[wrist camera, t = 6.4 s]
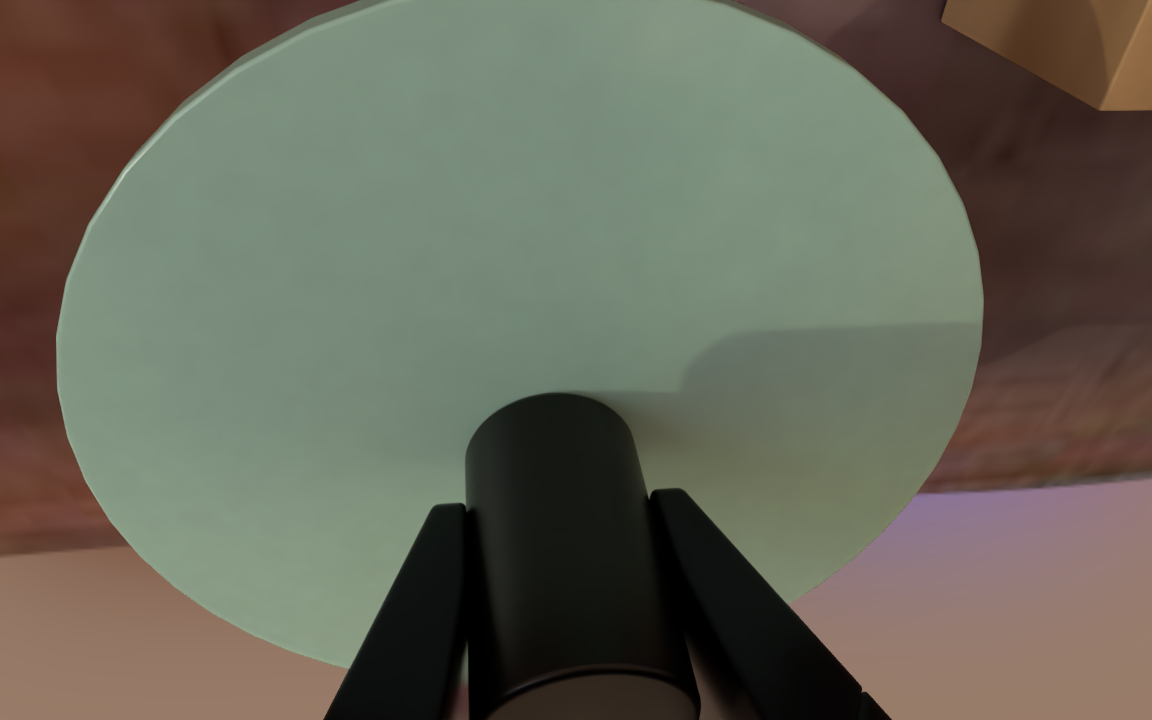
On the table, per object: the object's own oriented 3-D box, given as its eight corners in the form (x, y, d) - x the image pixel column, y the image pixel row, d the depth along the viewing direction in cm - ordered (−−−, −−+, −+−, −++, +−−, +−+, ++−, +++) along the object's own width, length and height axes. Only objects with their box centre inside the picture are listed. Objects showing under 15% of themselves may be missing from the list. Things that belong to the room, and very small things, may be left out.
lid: (1097, -38, 9) (1629, 143, 5) (831, 606, 16) (951, 881, 12) (-107, -58, 7) (-781, 179, 3) (219, 661, 15) (134, 992, 11)
